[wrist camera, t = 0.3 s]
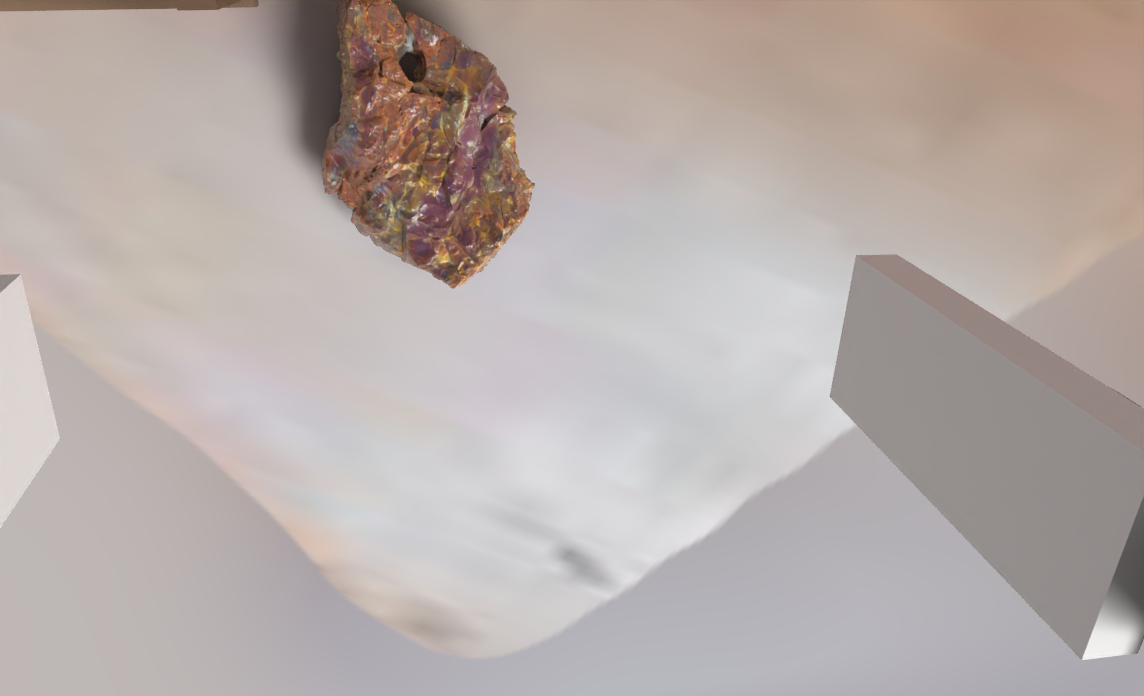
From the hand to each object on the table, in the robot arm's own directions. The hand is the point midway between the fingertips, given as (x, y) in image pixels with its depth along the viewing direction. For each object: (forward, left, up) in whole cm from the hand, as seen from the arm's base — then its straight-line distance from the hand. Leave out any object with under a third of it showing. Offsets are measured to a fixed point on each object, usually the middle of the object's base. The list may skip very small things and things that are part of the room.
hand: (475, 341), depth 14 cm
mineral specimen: (+2, -1, -28) cm, 28 cm away
